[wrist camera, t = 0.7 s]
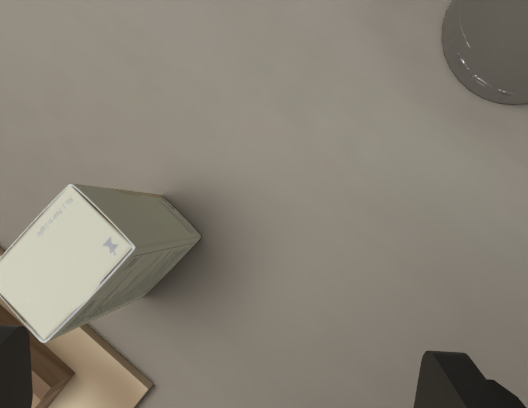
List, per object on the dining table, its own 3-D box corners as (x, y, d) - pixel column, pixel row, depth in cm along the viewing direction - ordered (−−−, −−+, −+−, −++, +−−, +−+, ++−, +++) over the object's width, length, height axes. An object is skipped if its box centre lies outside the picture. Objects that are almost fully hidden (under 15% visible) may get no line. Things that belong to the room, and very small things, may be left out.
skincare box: (161, 193, 33) (72, 173, 21) (205, 238, 33) (140, 245, 21) (98, 257, 34) (-24, 274, 21) (142, 303, 33) (41, 347, 21)
